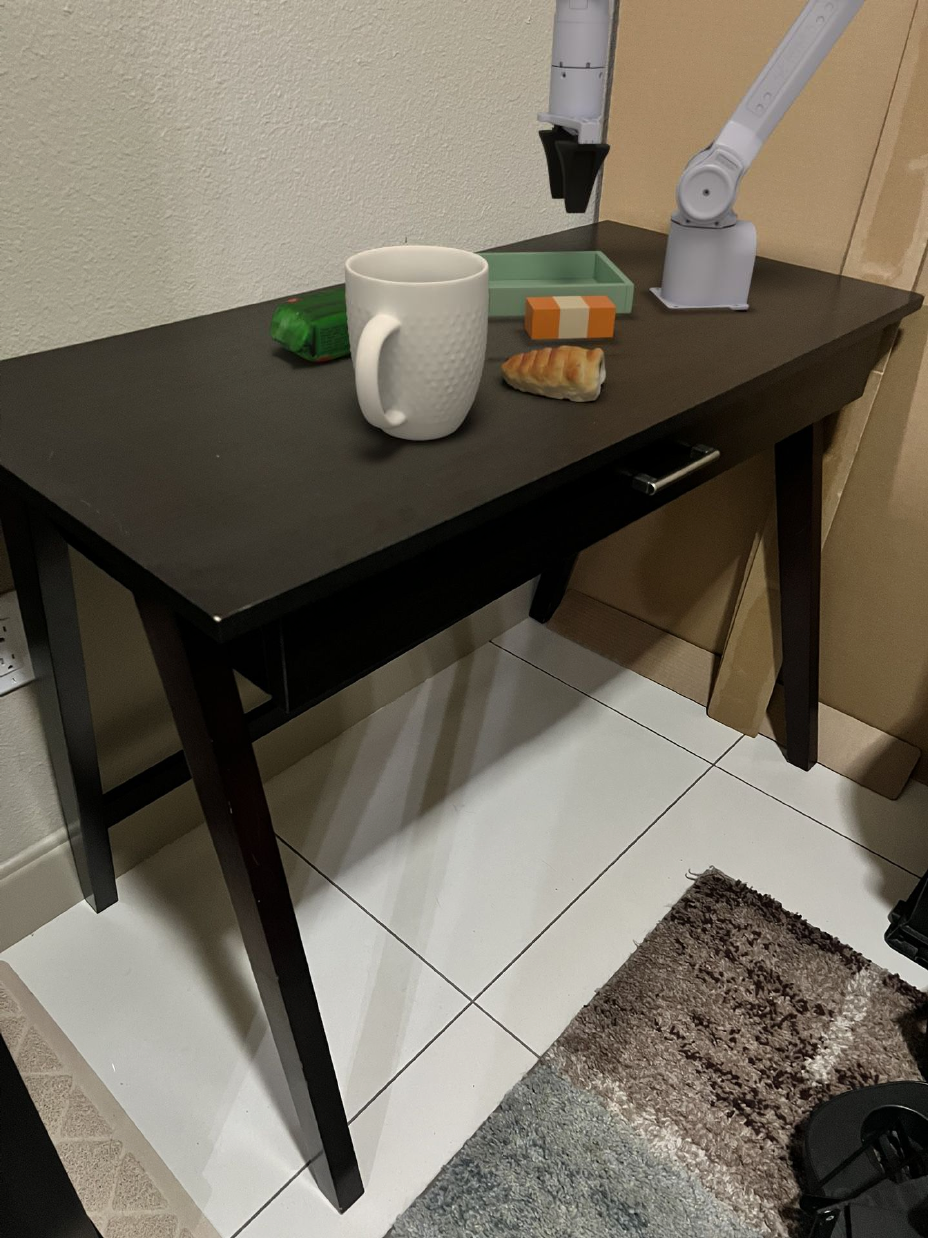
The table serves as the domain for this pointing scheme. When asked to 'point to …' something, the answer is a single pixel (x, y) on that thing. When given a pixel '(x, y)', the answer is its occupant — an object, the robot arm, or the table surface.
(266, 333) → the table surface
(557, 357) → the pastry
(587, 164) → the robot arm
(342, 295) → the snack package
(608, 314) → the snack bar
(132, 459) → the table surface
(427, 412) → the mug
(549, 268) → the tub
